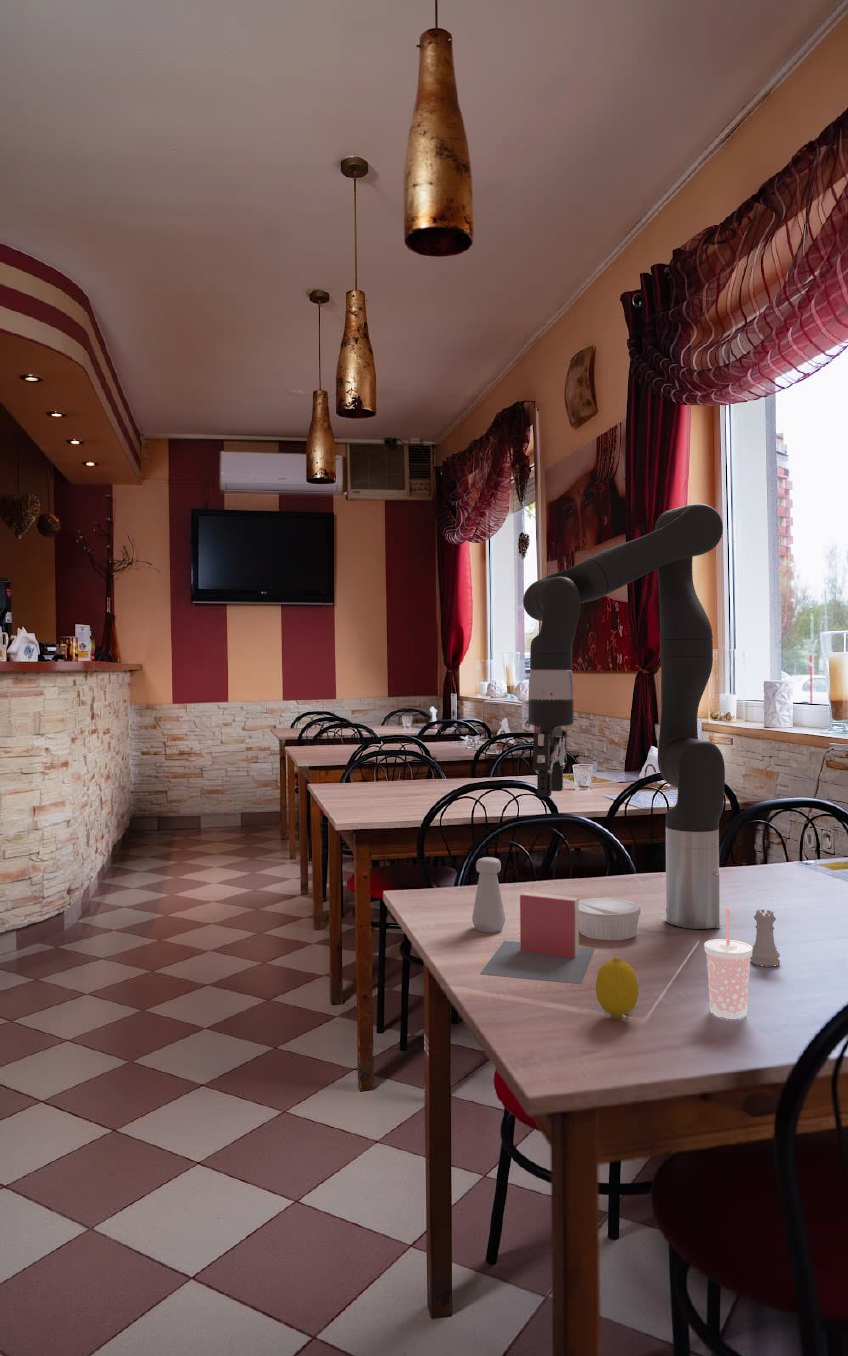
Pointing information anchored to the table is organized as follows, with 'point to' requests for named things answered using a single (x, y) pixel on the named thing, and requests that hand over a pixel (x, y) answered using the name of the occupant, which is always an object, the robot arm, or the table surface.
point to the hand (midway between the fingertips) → (550, 793)
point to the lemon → (617, 987)
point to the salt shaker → (488, 897)
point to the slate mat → (537, 964)
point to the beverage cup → (728, 975)
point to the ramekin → (608, 918)
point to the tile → (549, 924)
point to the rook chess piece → (765, 940)
